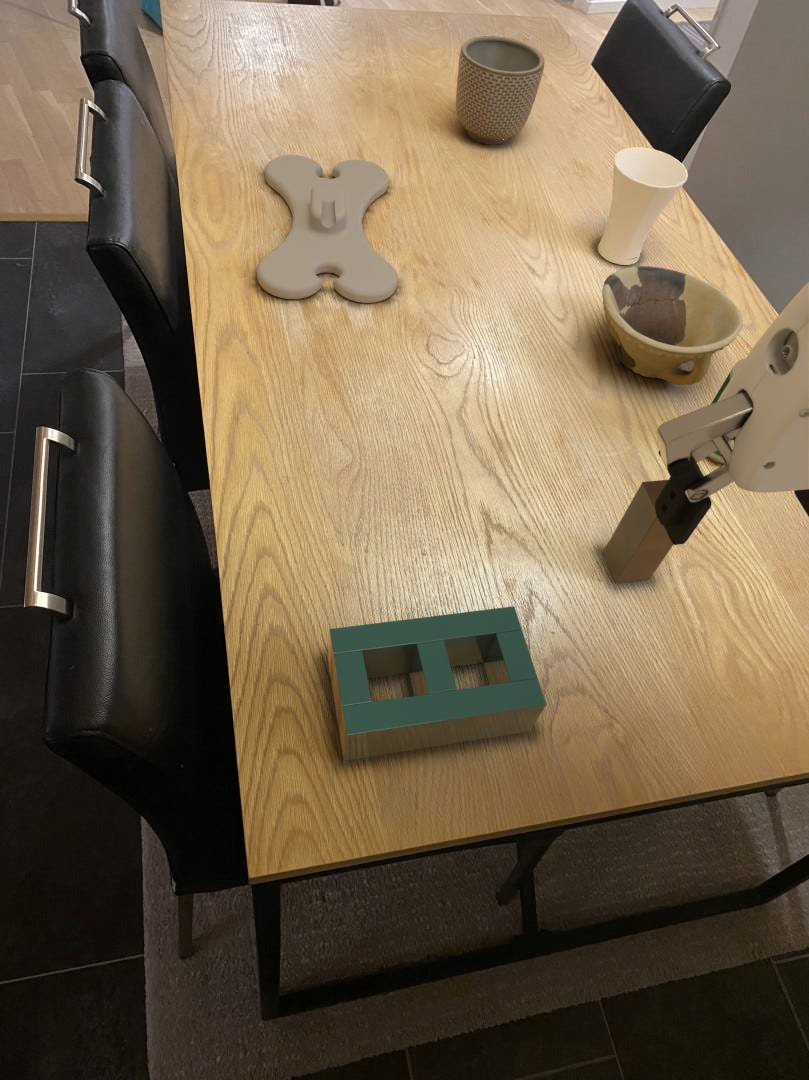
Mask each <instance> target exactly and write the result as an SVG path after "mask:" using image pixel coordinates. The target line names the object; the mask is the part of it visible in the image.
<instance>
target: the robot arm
mask: <svg viewBox="0 0 809 1080" xmlns="http://www.w3.org/2000/svg"><path fill="white" fill-rule="evenodd" d="M744 359H745V360H744V361H743V363H742V364H741V365H740V367H739V368H738V370H737V371H736V372H735V374H734V375H733V377H732V378H731V380H730V382H729V383H728V385H727V386H726V388H725V389H724V391H723V392H722V394H721V396H720V398H719V399H718V401H717V402H716V403H713V404H711V403H710V404H709V405H706V406H703V407H700V408H698V409H696V410H693V411H691V412H688V413H686V414H685V413H684V414H683V415H680V416H678V417H676V418H673V419H670V420H668V421H665V422H663V423H661V424H660V425H658V427H657V429H656V437H657V444H658V449H659V450H658V455H659V457H660V459H661V461H662V463H663V465H664V467H665V469H666V471H667V473H668V475H669V478H668V479H667V480H668V482H667V483H666V485H665V487H664V488H663V490H662V492H661V493H660V495H659V497H658V498H657V500H656V502H655V512H656V515H657V517H658V520H659V522H660V523H661V524H662V525H664V527H665V529H666V532H667V534H668V536H669V538H670V540H671V542H672V543H673V544H674V545H673V546H677V545H684V544H686V542H687V541H689V539H690V537H691V536H692V534H693V533H694V532H695V530H696V529H697V527H698V526H699V525H700V523H701V521H702V520H703V519H704V517H705V516H706V515H707V513H708V512H709V510H710V509H711V507H712V505H713V503H712V500H711V498H710V497H711V496H712V495H714V494H716V493H717V492H719V491H721V490H722V489H724V488H725V487H727V486H729V485H731V484H732V483H735V485H736V486H737V488H739V489H741V490H744V491H747V492H750V493H751V492H752V493H761V494H762V493H763V494H764V493H783V492H792V491H794V492H793V493H794V496H795V498H796V499H797V500H798V502H799V504H800V506H801V507H802V508H803V510H804V512H805V513H806V515H807V517H809V281H808V282H806V283H805V284H804V285H803V287H802V288H801V289H799V291H798V292H797V293H796V294H795V296H794V297H793V298H792V299H791V300H790V301H789V302H788V303H787V305H786V306H785V307H784V308H783V310H781V312H780V313H779V314H778V315H777V316H776V317H775V319H774V320H773V322H772V323H771V324H770V325H769V326H768V327H767V329H766V330H765V332H764V333H763V334H762V335H761V337H760V338H759V339H758V340H757V342H756V343H755V345H754V346H753V347H752V348H751V350H750V351H749V353H748V354H747V355H746V357H745V358H744ZM733 437H736V439H735V443H734V446H732V444H731V442H730V441H729V440H730V439H732V438H733ZM717 450H718V451H719V453H720V455H721V456H722V458H723V460H724V462H725V463H726V464H722V465H721V466H719V467H717V468H715V469H713V471H711V472H709V473H707V474H704V473H703V472H702V469H701V467H700V466H699V464H698V463H699V462H701V461H702V460H704V459H705V458H708V456H709V455H710V454H712V453H714V452H715V451H717Z"/></svg>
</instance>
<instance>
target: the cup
mask: <svg viewBox="0 0 809 1080" xmlns="http://www.w3.org/2000/svg"><path fill="white" fill-rule="evenodd" d="M612 169H613V172H612V173H613V175H612V194H611V195H612V196H611V204H610V211H609V214H608V215H609V216H608V220H607V223H606V226H605V230H604V232H603V234H602V237H601V238H600V241H599V242H598V245H597V252H598V254H599V255H600V256H601V258H603V259H605V260H606V261H608V262H610V263H613V264H616V265H622V266H630V265H633V264H636V263H638V261H639V260H640V257H641V254H642V250H643V247H644V243H645V241H646V239H647V238H648V235H649V233H650V231H651V229H652V228H653V226H654V224H655V222H656V221H657V219H658V218H659V216H660V215H661V213H662V212H663V211H664V209H665V208H666V207H667V206H668V204H669V203H670V202H671V201H672V199H673V198H674V197H675V195H676V194H677V193H678V192H679V190H680V189H681V188H682V187H683V186H684V185H685V183H686V182H687V181H688V177H689V174H688V169H687V168H686V166H685V165H684V164H683V163H682V162H680V161H679V160H678V159H677V158H675V157H674V156H672V155H671V154H668V153H666V152H663V151H661V150H657V149H653V148H650V147H649V148H648V147H642V146H641V147H640V146H635V147H634V146H633V147H625V148H624V149H621V150H619V151H618V152H617V153H615V155H614V157H613V168H612ZM640 253H641V254H640ZM610 255H611V256H610ZM615 257H617V258H615ZM635 257H637V258H635ZM618 258H621V259H618ZM631 258H635V259H631ZM624 259H631V260H624Z"/></svg>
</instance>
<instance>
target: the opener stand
mask: <svg viewBox="0 0 809 1080" xmlns="http://www.w3.org/2000/svg"><path fill="white" fill-rule="evenodd" d="M517 613H518V612H517V610H516V607H515V605H512V606H505V607H504V606H503V607H496V608H489V609H488V608H487V609H479V610H472V611H465V612H464V611H463V612H455V613H448V614H440V615H431V616H423V617H416V618H407V619H400V620H392V621H383V622H374V623H367V624H359V625H352V626H343V627H336V628H330V629H329V632H328V647H327V664H328V671H329V678H330V683H331V690H332V695H333V703H334V708H335V715H336V721H337V728H338V733H339V739H340V741H339V742H340V746H341V753H342V760H343V761H344V762H346V761H353V760H359V759H366V758H371V757H378V756H383V755H390V754H391V755H392V754H396V753H403V752H409V751H414V750H415V751H416V750H422V749H427V748H434V747H440V746H446V745H453V744H459V743H465V742H471V741H472V742H473V741H478V740H484V739H490V738H497V737H503V736H509V735H514V734H523V733H528V732H530V731H532V728H533V727H534V725H535V724H536V722H537V721H538V719H539V717H540V716H541V714H542V713H543V711H544V709H545V708H546V706H547V702H546V699H545V696H544V694H543V693H544V692H543V690H542V687H541V684H540V681H539V678H538V675H537V672H536V668H535V666H534V663H533V660H532V656H531V653H530V650H529V647H528V644H527V641H526V638H525V634H524V632H523V629H522V626H521V622H520V619H519V616H518V614H517ZM479 664H483V667H484V670H485V674H486V679H487V681H488V685H482V686H475V687H469V688H462V689H457V686H456V681H455V677H454V674H453V669H452V668H456V667H462V666H463V667H465V666H471V665H479ZM405 674H409V681H410V684H411V689H412V694H413V696H406V697H401V698H392V699H386V700H385V699H384V700H379V701H372V695H371V690H370V684H369V680H370V679H376V678H383V677H384V678H385V677H390V676H391V677H392V676H397V675H405Z"/></svg>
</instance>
